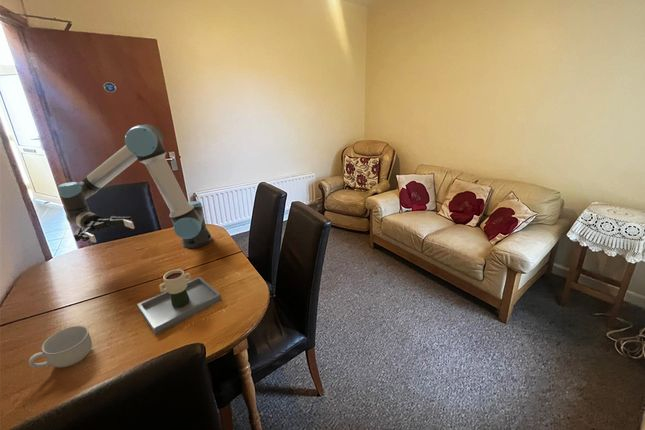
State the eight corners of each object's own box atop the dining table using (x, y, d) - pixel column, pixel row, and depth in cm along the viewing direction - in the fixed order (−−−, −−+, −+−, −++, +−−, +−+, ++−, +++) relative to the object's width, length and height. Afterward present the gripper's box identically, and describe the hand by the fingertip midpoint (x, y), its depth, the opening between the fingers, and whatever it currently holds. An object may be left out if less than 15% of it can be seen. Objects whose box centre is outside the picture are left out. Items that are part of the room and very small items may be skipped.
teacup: (93, 338, 95) (85, 319, 92) (99, 357, 88) (90, 337, 85) (36, 364, 86) (25, 344, 83) (37, 388, 79) (25, 367, 76)
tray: (201, 282, 124) (199, 276, 122) (221, 300, 112) (220, 294, 111) (139, 310, 108) (137, 304, 106) (155, 335, 96) (153, 328, 95)
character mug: (191, 292, 115) (184, 264, 111) (199, 300, 111) (192, 271, 106) (162, 306, 108) (154, 277, 103) (169, 314, 104) (161, 285, 99)
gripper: (124, 219, 133) (149, 228, 122) (57, 241, 114) (79, 254, 103) (119, 204, 130) (144, 212, 119) (50, 224, 111) (72, 236, 100)
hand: (114, 232), depth 111 cm, fingers open, 13 cm apart
